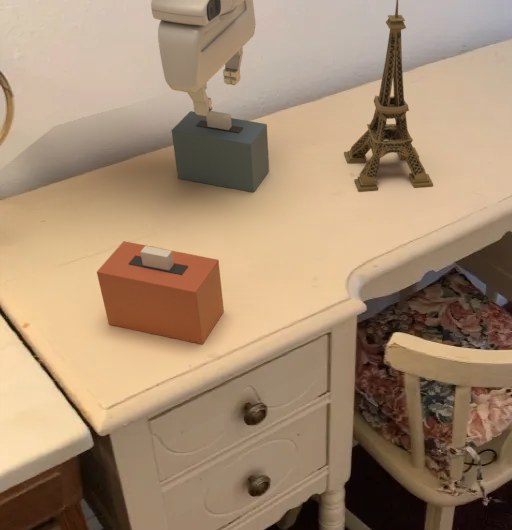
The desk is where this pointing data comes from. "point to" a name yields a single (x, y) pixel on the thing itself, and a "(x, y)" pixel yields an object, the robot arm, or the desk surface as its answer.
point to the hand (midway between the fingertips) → (218, 97)
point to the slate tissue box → (221, 150)
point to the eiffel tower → (386, 108)
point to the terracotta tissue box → (161, 291)
